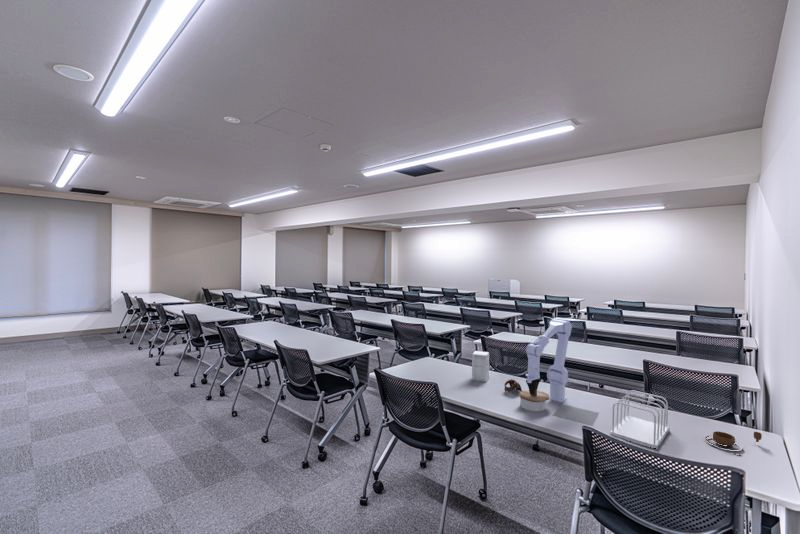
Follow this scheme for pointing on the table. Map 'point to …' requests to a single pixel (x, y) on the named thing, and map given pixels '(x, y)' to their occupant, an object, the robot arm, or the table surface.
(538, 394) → the walnut lid
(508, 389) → the brown dome
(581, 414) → the grey square pad
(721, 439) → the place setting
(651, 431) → the file sorter
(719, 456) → the table surface
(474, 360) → the supplement box
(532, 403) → the grey bowl
